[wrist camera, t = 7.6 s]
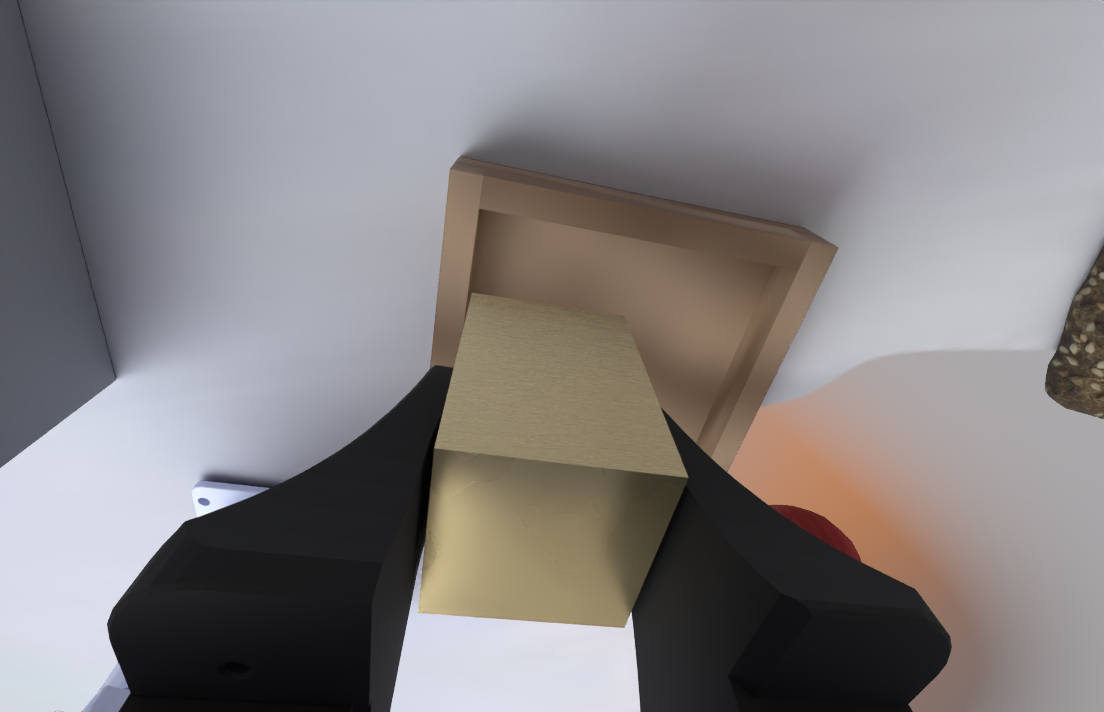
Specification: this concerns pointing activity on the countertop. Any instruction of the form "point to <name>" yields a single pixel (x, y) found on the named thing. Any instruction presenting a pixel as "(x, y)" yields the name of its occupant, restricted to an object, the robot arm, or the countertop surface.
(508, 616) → the brass block
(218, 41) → the countertop surface
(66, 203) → the wall unit
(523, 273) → the tray
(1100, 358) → the bread roll
